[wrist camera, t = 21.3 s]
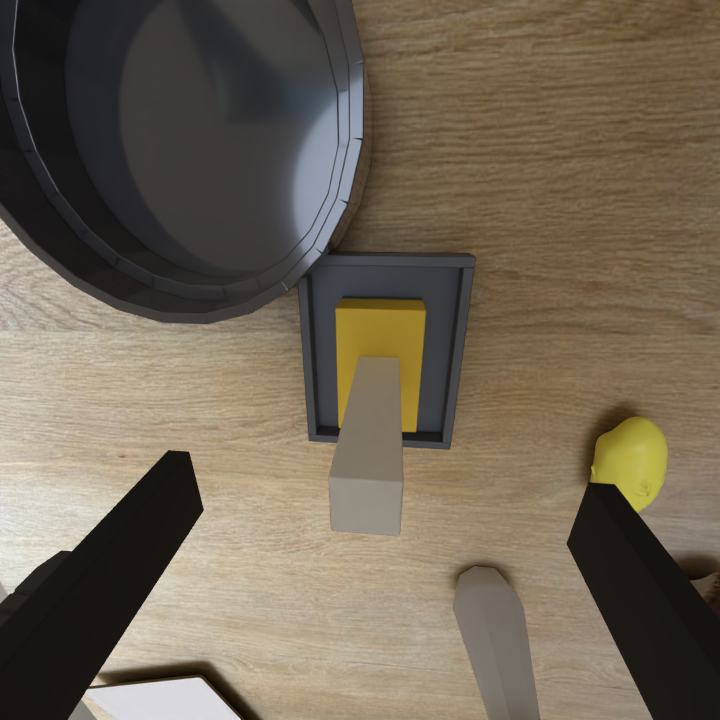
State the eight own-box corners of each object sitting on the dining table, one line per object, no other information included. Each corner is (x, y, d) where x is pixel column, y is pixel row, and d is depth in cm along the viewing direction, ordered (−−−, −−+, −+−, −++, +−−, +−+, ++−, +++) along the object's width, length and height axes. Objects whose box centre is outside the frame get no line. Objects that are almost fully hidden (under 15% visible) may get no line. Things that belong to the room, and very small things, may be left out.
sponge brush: (342, 295, 22) (279, 399, 10) (422, 297, 21) (456, 408, 9) (344, 404, 25) (299, 580, 13) (413, 407, 25) (431, 593, 13)
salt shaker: (520, 594, 32) (594, 819, 20) (460, 604, 34) (496, 821, 22) (504, 553, 30) (574, 776, 18) (441, 566, 32) (469, 781, 20)
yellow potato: (566, 489, 27) (592, 531, 23) (599, 400, 24) (635, 434, 20) (622, 494, 26) (657, 538, 23) (663, 405, 23) (712, 441, 20)
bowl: (444, 132, 18) (465, 99, 13) (242, 348, 24) (199, 389, 19) (157, -234, 14) (5, -516, 9) (3, 139, 20) (-140, 114, 15)
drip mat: (302, 251, 21) (295, 254, 20) (469, 253, 20) (476, 257, 19) (313, 427, 27) (308, 441, 25) (446, 435, 26) (450, 450, 24)
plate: (208, 658, 42) (199, 679, 40) (275, 733, 49) (270, 754, 47) (93, 672, 46) (81, 692, 44) (170, 739, 53) (161, 758, 51)
